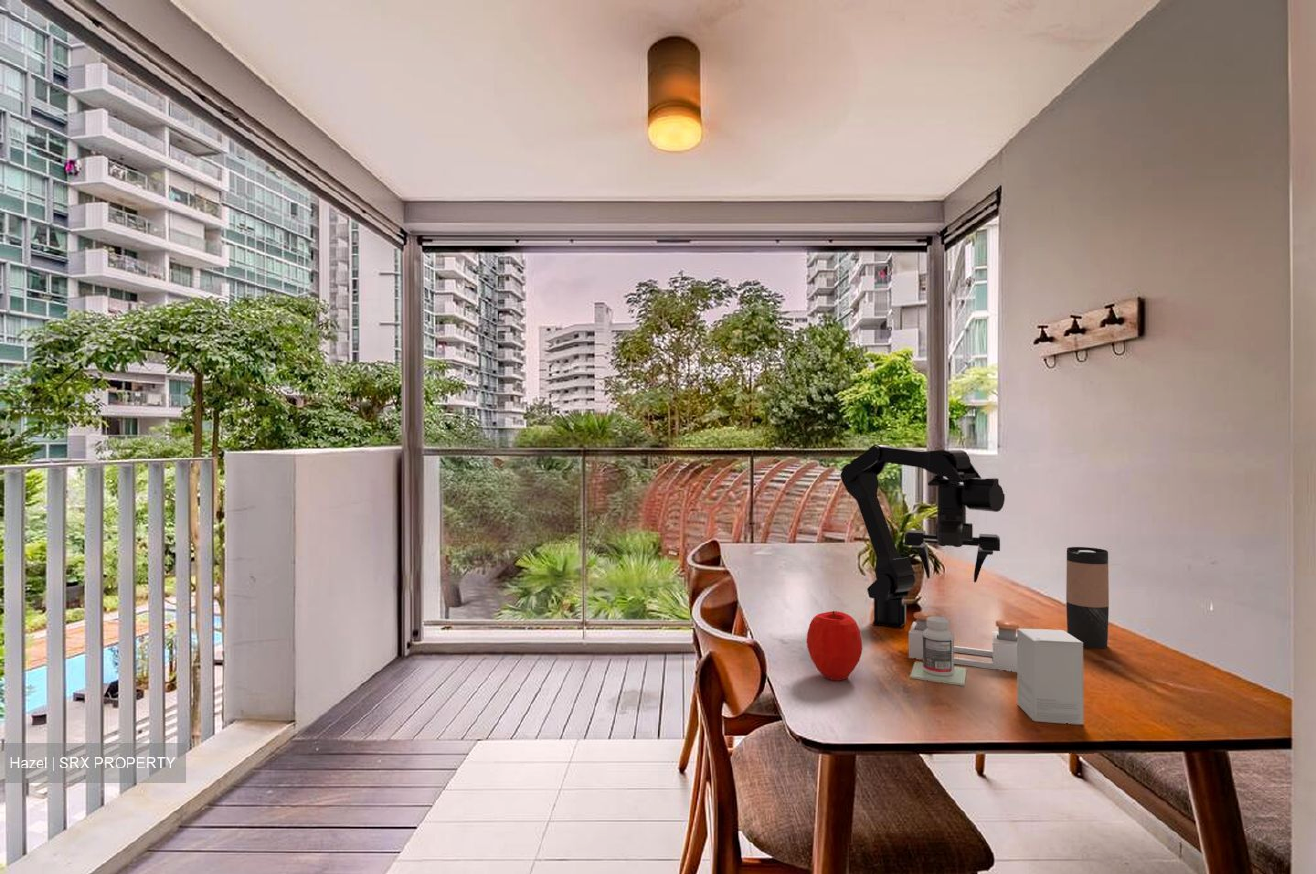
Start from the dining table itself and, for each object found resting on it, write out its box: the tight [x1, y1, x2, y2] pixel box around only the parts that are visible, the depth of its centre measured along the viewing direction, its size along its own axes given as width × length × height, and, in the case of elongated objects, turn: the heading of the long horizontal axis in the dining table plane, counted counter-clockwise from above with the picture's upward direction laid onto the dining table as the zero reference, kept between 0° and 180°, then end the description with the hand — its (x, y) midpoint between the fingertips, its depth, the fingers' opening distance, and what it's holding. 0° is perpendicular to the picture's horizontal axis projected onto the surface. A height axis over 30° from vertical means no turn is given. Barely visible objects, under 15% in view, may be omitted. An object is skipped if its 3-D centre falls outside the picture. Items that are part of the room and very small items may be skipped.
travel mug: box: [1065, 546, 1110, 650], centre depth 145 cm, size 8×8×20 cm
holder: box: [908, 621, 1017, 673], centre depth 135 cm, size 20×9×5 cm, turn 64°
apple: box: [806, 610, 863, 682], centre depth 125 cm, size 10×10×12 cm
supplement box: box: [1016, 628, 1084, 725], centre depth 108 cm, size 7×7×13 cm
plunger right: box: [995, 620, 1020, 642], centre depth 132 cm, size 4×4×5 cm
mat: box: [909, 661, 967, 687], centre depth 126 cm, size 9×9×1 cm
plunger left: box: [913, 611, 936, 631], centre depth 138 cm, size 4×4×5 cm
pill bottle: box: [922, 615, 955, 676], centre depth 126 cm, size 5×5×10 cm
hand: (951, 580), depth 147 cm, fingers open, 9 cm apart
